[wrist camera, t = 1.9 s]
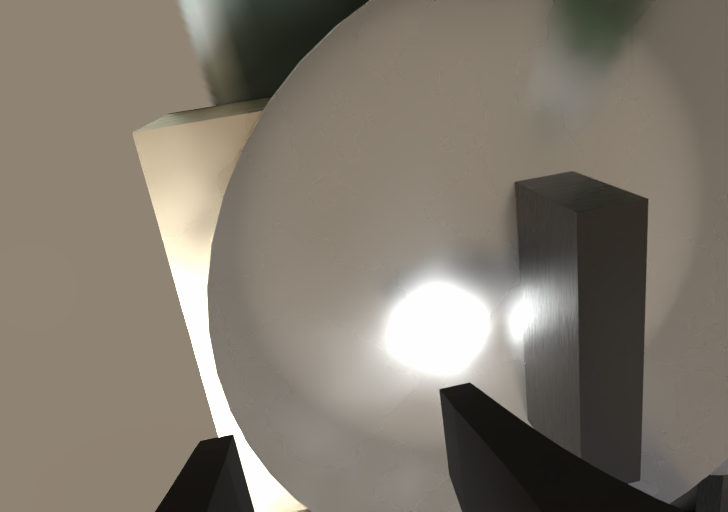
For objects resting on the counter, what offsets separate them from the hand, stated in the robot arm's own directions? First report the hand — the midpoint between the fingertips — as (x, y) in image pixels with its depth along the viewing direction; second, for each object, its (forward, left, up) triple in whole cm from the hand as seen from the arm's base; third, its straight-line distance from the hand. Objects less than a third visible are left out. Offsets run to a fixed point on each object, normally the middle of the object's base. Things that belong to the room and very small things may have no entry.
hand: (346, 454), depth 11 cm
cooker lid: (0, -6, -5) cm, 8 cm away
